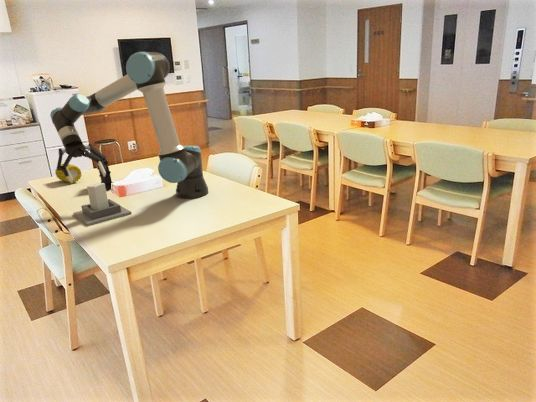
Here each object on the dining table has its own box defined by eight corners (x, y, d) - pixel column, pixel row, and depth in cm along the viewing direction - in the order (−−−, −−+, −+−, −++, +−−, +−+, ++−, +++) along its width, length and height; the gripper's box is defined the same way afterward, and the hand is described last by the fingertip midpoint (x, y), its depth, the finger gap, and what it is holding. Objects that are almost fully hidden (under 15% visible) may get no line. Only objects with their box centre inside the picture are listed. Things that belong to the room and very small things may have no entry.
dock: (114, 204, 187) (113, 196, 186) (131, 214, 174) (129, 205, 173) (73, 215, 176) (71, 206, 175) (87, 226, 163) (85, 216, 162)
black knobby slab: (107, 189, 205) (99, 160, 206) (103, 194, 216) (96, 167, 217) (114, 187, 207) (107, 159, 208) (111, 192, 218) (103, 165, 219)
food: (56, 180, 231) (52, 163, 228) (78, 177, 237) (75, 159, 234) (60, 186, 219) (56, 168, 216) (84, 182, 225) (80, 164, 222)
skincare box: (102, 209, 178) (97, 182, 174) (110, 210, 176) (105, 182, 172) (91, 213, 173) (85, 186, 169) (99, 215, 171) (93, 187, 167)
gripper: (98, 139, 192) (116, 176, 186) (39, 149, 176) (57, 189, 170) (100, 129, 186) (119, 167, 180) (39, 138, 171) (58, 179, 165)
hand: (89, 178), depth 175 cm, fingers open, 13 cm apart
